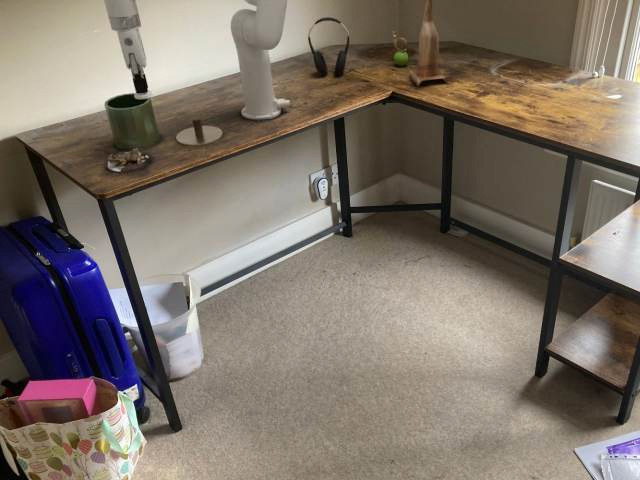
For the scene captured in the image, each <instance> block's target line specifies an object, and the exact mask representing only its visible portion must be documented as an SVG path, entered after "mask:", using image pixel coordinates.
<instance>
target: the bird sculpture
mask: <svg viewBox="0 0 640 480" xmlns="http://www.w3.org/2000/svg"><path fill="white" fill-rule="evenodd" d="M425 1H426V2H425V7H424V13H423V19H422V24H421V28H420V34H419V41H418V62H417V63H418V64H417V68H416V69H410V70H409V72H408V77H409V78H410V79H411V80H412V81H413V83H415V85H416V86H417V87H420V84H421V83H423V82H424V81H430V80H441V79H442V80H443V81H444V82H445V83H446V84H449V83H448V82H449V80H448V78H447V77H446V76H445V75H444V74H443V73H442V72H441V71H440V70H439V56H440V55H439V54H440V37H439V33H438V29H437V28H436V25H435V23H434V16H433V13H434V12H433V0H425Z"/></svg>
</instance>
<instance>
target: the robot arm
mask: <svg viewBox="0 0 640 480" xmlns="http://www.w3.org/2000/svg"><path fill="white" fill-rule="evenodd" d="M243 1H244V2H245V3H247V4H249V5H251V6H255V7H256V9H255V10H254V9H249V8H244V9H243V8H242V9H240V10H237V11H236V12H234V14H233V15H232V17H231V20H230V33H231V36H232V40H233V43H234V45H235V49H236V54H237V59H238V65H239V73H240V80H241V86H242V92H243V99H244V106H245V107H243V108H241V111H240V112H241V116H242V117H243V118H245V119H248V120H267V119H269V120H270V119H271V120H272V119H274V118H277V117H278V116H279V115H280V114H281V113H282V109H281V108H282V107H284V108H285V107H291V102H290V99H285V98H276V96H275V92H274V91H275V90H274V83H273V82H274V81H273V74H272V67H271V57H270V52H269V51H270V50H271V51H272V50H274V49H275V48H276V47H277V46H279V44H280V42H281V40H282V37H283V31H284V27H285V26H284V25H285V19H286V12H287V7H288V0H243ZM103 2H104V5H105V9H106V13H107V17H108V20H109V24H110V28H111V30H112V31H114V32H116V33H117V37H118V41H119V45H120V49H121V53H122V55H123V60H124V63H125V66H126V69H128V70H130V72H131V77H132V82H133V86H134V90H135V93H137V94H138V93H147V92H148V91H149V84H148V81H147V76H146V73H145V71H144V69H146V67H147V55H146V52H145V48H144V45H143V44H144V43H143V41H142V40H143V39H142V37H141V33H140V28H141V27H142V23H141V18H140V14H139V9H138V6H137V1H136V0H103ZM137 66H138V67H137ZM138 70H140V71H138Z"/></svg>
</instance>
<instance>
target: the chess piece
mask: <svg viewBox="0 0 640 480" xmlns="http://www.w3.org/2000/svg"><path fill="white" fill-rule="evenodd" d="M137 67H138V66H137ZM138 71H140V70H138ZM134 93H135V94H134V97H135V98H136V99H147V98H150V97H151V98H152V97H153V95H154V94H153V92H152V91H151V90H148V92H147V93H138V94H137V93H136V92H134Z"/></svg>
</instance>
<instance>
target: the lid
mask: <svg viewBox="0 0 640 480" xmlns="http://www.w3.org/2000/svg"><path fill="white" fill-rule="evenodd" d="M191 121H192V127H189V128H188V127H187V128H185V129H183V130H181V131H180V132H178V133H177V134H176V137H175V138H176V139H175V140H176V142H177V143H178V144H180V145H183V146H188V147H198V146H199V147H200V146H207V145H210V144H212V143H216V142H217V141H219V140H221V138H222V137H223V136H224V135H223V134H224V133H223V130H222V129H221V128H219V127H217V126H214V125H213V126H212V125H202V120H201V117H193V118H191Z"/></svg>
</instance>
